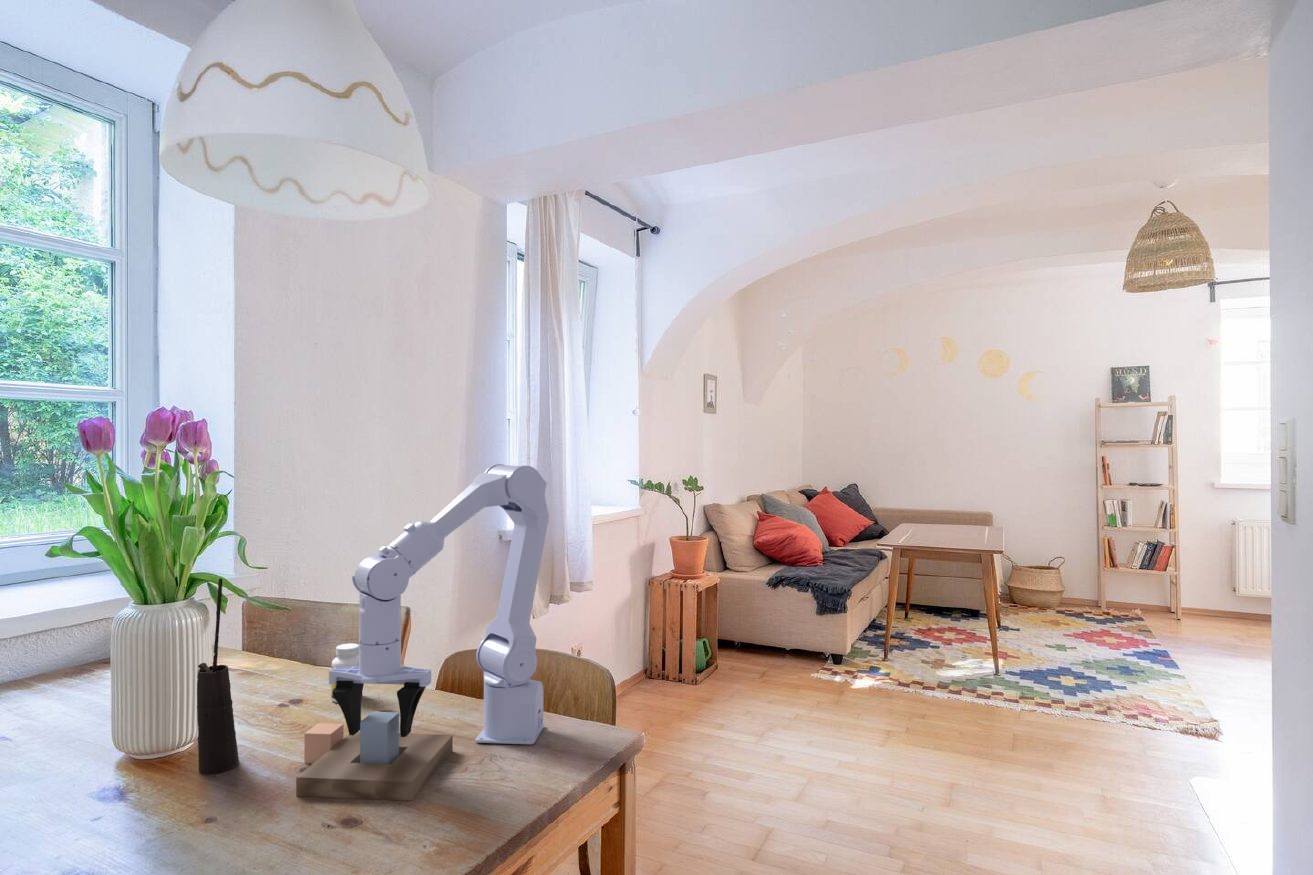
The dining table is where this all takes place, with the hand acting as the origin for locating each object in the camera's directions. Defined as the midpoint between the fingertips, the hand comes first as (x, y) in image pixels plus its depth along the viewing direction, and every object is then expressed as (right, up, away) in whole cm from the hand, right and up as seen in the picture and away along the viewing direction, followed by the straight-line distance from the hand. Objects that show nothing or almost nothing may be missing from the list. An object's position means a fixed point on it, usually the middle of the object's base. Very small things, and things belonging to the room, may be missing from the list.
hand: (380, 733), depth 109 cm
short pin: (-10, -6, +5) cm, 13 cm away
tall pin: (0, -6, 0) cm, 6 cm away
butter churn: (-25, -6, +2) cm, 26 cm away
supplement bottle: (-17, -6, +30) cm, 35 cm away
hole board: (0, -6, 0) cm, 6 cm away
